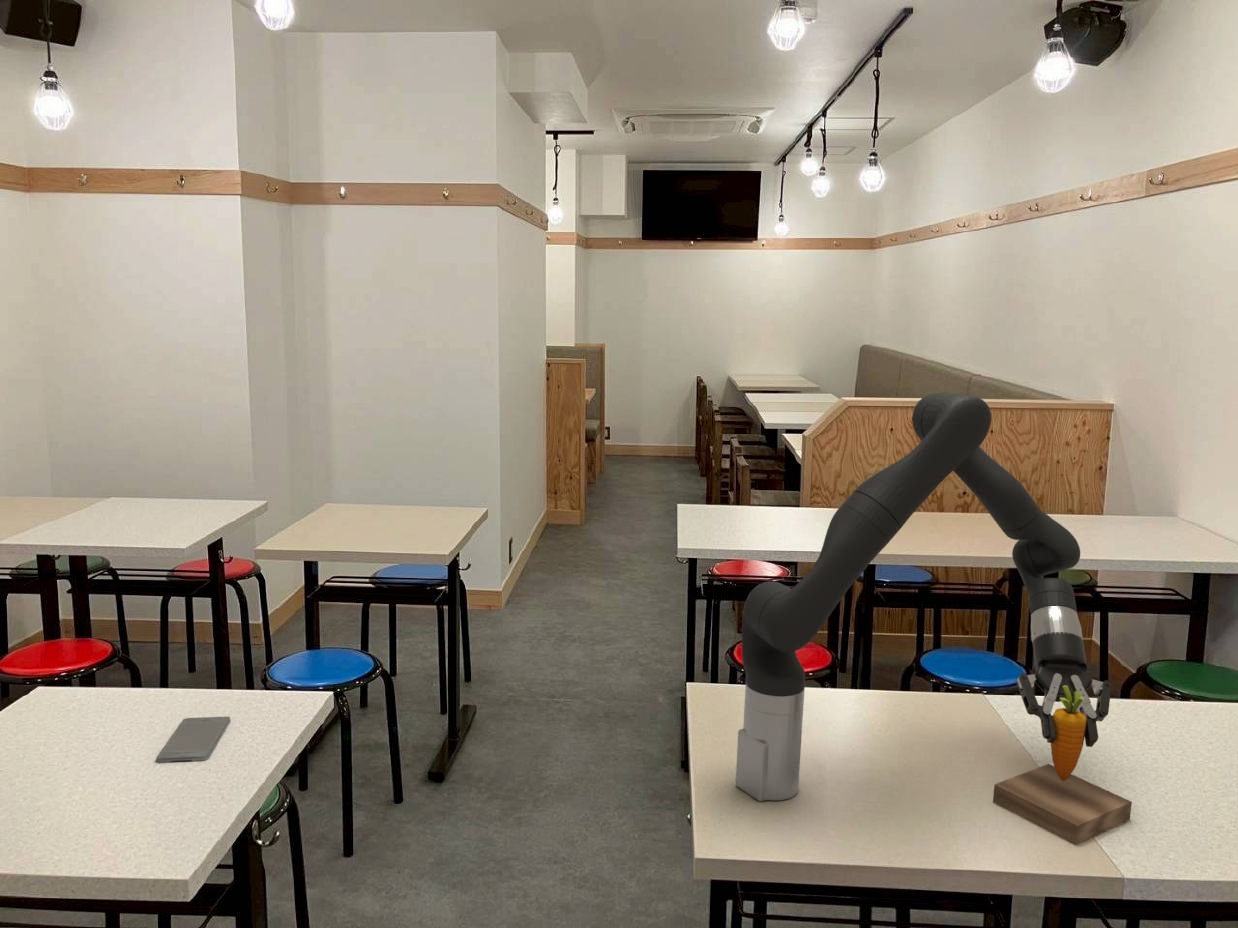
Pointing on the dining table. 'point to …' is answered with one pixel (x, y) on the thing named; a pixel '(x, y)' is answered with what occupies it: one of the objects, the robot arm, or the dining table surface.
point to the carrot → (1068, 734)
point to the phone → (194, 739)
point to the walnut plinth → (1062, 803)
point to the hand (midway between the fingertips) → (1071, 742)
